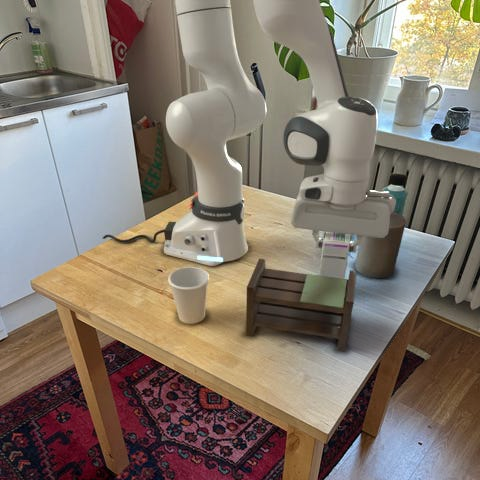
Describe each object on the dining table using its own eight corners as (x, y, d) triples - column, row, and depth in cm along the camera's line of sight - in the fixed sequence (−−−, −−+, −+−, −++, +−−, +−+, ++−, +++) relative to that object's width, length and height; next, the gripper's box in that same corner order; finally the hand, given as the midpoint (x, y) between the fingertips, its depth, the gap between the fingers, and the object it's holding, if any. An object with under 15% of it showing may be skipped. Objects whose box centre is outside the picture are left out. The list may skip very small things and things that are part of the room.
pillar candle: (402, 271, 112) (416, 215, 103) (373, 283, 108) (386, 226, 99) (373, 255, 119) (385, 201, 110) (346, 265, 115) (355, 210, 105)
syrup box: (341, 299, 103) (351, 243, 94) (315, 296, 104) (323, 240, 95) (342, 286, 107) (352, 230, 98) (317, 283, 108) (324, 227, 99)
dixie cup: (168, 309, 100) (163, 270, 94) (204, 301, 102) (202, 263, 96) (178, 331, 94) (173, 291, 88) (216, 322, 96) (214, 283, 90)
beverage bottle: (366, 241, 125) (381, 169, 112) (390, 240, 125) (406, 169, 113) (374, 253, 119) (390, 179, 107) (398, 252, 120) (417, 178, 108)
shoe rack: (245, 335, 93) (246, 287, 85) (257, 304, 101) (259, 258, 94) (344, 351, 89) (353, 302, 82) (347, 318, 97) (356, 271, 90)
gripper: (397, 187, 90) (384, 248, 99) (296, 177, 94) (292, 237, 103) (398, 199, 86) (384, 262, 94) (292, 189, 90) (287, 250, 98)
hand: (335, 249), depth 99 cm, fingers closed on syrup box, 6 cm apart
